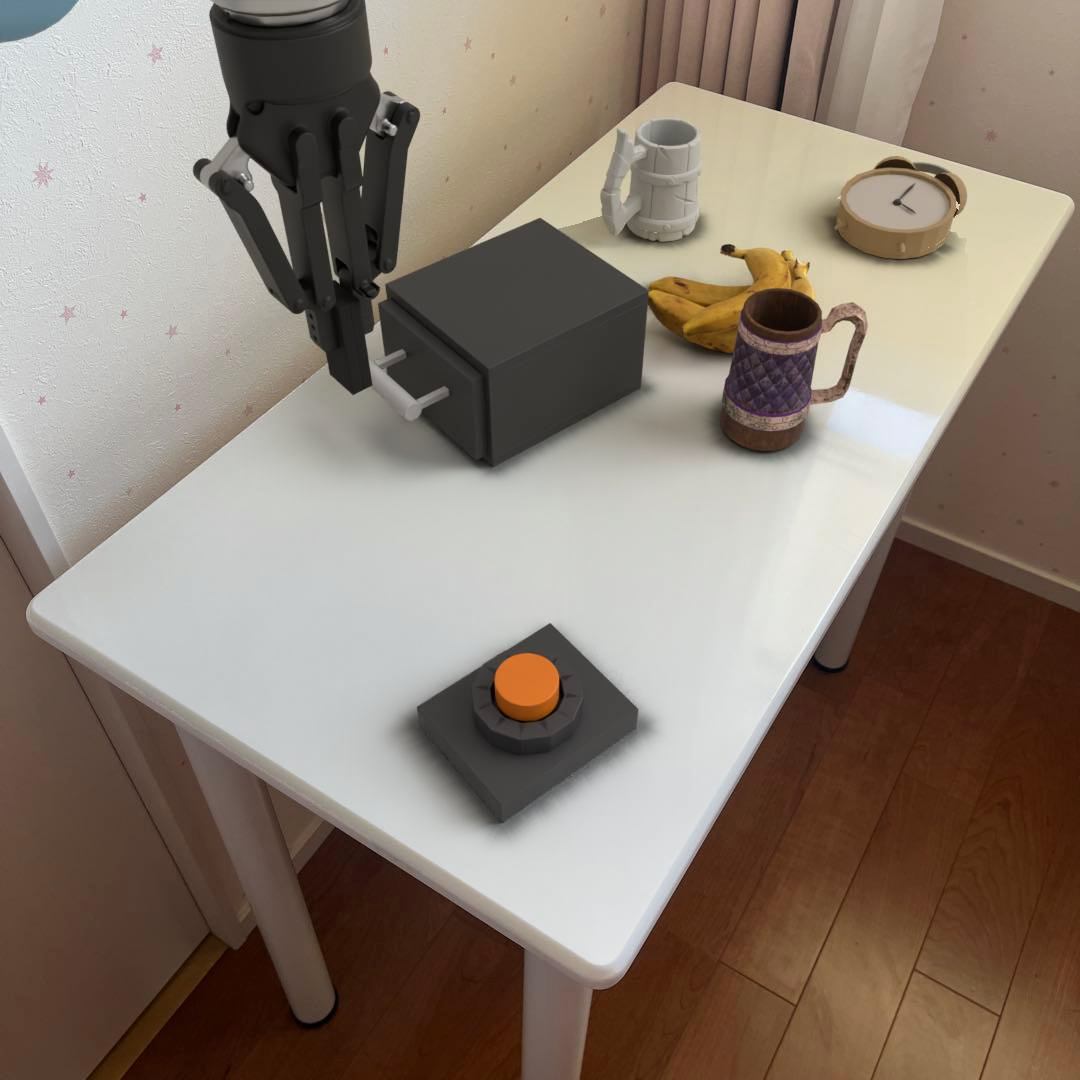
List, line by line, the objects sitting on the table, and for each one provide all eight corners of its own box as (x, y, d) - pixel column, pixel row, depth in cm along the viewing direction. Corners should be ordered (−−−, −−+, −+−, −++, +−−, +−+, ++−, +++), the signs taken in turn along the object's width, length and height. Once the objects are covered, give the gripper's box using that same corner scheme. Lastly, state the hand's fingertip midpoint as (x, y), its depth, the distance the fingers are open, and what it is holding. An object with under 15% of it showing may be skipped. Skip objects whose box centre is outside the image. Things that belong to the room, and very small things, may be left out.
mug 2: (719, 452, 90) (739, 332, 81) (716, 396, 95) (734, 276, 86) (847, 458, 89) (880, 337, 80) (837, 401, 94) (867, 281, 85)
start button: (521, 733, 67) (520, 717, 66) (482, 690, 70) (481, 674, 68) (571, 699, 69) (572, 682, 68) (532, 659, 71) (532, 642, 70)
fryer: (493, 467, 89) (488, 368, 81) (396, 381, 96) (384, 283, 89) (641, 387, 95) (649, 290, 88) (540, 313, 103) (540, 217, 96)
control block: (502, 823, 67) (500, 789, 64) (419, 725, 72) (413, 690, 69) (636, 728, 72) (640, 692, 69) (550, 642, 77) (550, 605, 74)
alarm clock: (818, 210, 109) (891, 128, 115) (813, 248, 113) (885, 167, 119) (923, 248, 105) (994, 161, 111) (915, 287, 109) (984, 201, 115)
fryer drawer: (431, 484, 86) (423, 405, 80) (344, 401, 93) (331, 323, 87) (615, 387, 94) (620, 308, 88) (523, 317, 101) (521, 240, 95)
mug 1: (714, 226, 113) (728, 113, 104) (626, 266, 108) (633, 152, 99) (664, 195, 117) (673, 84, 108) (577, 233, 112) (579, 120, 103)
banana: (844, 289, 105) (856, 236, 101) (755, 396, 95) (765, 342, 90) (702, 240, 111) (708, 188, 107) (603, 336, 100) (606, 283, 96)
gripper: (201, 59, 48) (293, 455, 66) (441, -17, 54) (467, 366, 71) (125, 7, 52) (231, 393, 70) (356, -59, 58) (401, 313, 75)
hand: (351, 379), depth 70 cm, fingers closed
